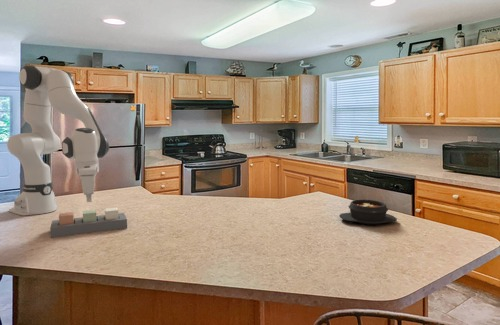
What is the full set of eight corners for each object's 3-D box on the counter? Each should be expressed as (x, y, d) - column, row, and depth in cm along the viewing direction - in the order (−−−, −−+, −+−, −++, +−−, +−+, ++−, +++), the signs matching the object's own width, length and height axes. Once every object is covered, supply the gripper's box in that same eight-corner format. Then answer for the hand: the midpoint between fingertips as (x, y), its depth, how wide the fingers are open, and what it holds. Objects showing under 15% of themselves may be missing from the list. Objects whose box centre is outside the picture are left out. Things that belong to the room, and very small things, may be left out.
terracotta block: (59, 228, 138) (58, 216, 137) (60, 225, 142) (59, 213, 141) (73, 226, 140) (73, 214, 139) (74, 223, 144) (73, 211, 144)
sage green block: (83, 225, 141) (82, 213, 141) (83, 222, 146) (82, 210, 145) (96, 224, 143) (96, 212, 143) (96, 221, 148) (95, 209, 147)
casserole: (345, 227, 148) (345, 208, 147) (334, 215, 166) (335, 198, 165) (404, 227, 148) (405, 208, 147) (387, 215, 166) (388, 198, 165)
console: (50, 238, 134) (50, 228, 133) (52, 229, 144) (52, 220, 143) (127, 228, 146) (126, 219, 145) (124, 221, 156) (124, 212, 155)
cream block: (106, 223, 145) (105, 211, 144) (105, 220, 149) (104, 208, 149) (118, 221, 147) (118, 210, 146) (117, 218, 151) (117, 207, 151)
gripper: (78, 165, 150) (80, 197, 151) (78, 171, 131) (80, 207, 133) (94, 164, 152) (96, 195, 154) (96, 170, 134) (98, 205, 136)
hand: (89, 201), depth 143 cm, fingers closed
